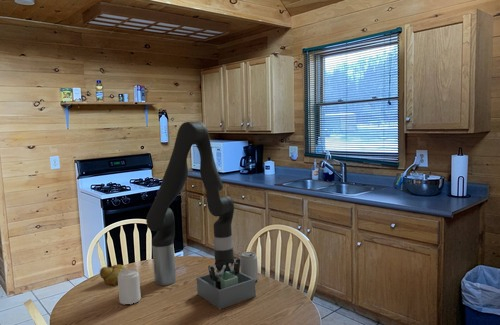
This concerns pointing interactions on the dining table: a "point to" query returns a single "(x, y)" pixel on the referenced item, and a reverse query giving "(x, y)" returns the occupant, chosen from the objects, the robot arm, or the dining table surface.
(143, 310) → the dining table surface
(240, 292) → the big crate
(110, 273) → the bread roll
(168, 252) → the robot arm
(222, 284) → the small crate
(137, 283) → the white cylinder
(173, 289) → the dining table surface
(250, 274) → the can
